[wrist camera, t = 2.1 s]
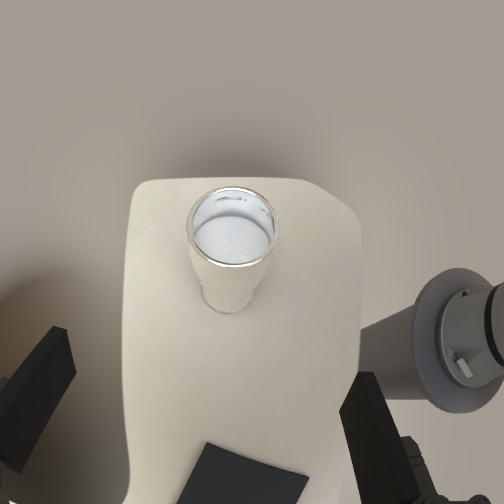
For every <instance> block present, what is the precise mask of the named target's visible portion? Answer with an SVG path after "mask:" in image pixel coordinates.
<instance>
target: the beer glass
mask: <svg viewBox="0 0 504 504" xmlns="http://www.w3.org/2000/svg"><path fill="white" fill-rule="evenodd" d="M187 234H188V251H189V257H190V261H191V264H192V267H193V270H194V272H195V274H196V275H197V277H198V279H199V280H200V281H201V291H202V295H203V298H204V300H205V301H206V303H207V304H208V305H209V306H210V307H212V308H213V309H214V310H216V311H219V312H222V313H235V312H238V311H240V310H242V309H244V308H245V307H246V306H247V305H248V304H249V303H250V302H251V300H252V298H253V296H254V292H255V287H256V286H257V285H258V284H259V283H260V281H261V280H262V279H263V278H264V277H265V275H266V273H267V271H268V269H269V267H270V265H271V263H272V260H273V257H274V253H275V249H276V244H277V240H278V236H279V220H278V216H277V214H276V211H275V210H274V208H273V206H272V205H271V204H270V203H269V201H268V200H267V199H265V198H264V197H263V196H262V195H260V194H259V193H257V192H255V191H253V190H250V189H247V188H243V187H237V186H228V187H221V188H217V189H214V190H212V191H210V192H208V193H206V194H205V195H203V196H202V197H201V198H200V199H198V200H197V202H196V203H195V204H194V205H193V207H192V209H191V210H190V213H189V216H188V219H187Z"/></svg>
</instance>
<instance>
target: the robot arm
mask: <svg viewBox="0 0 504 504" xmlns="http://www.w3.org/2000/svg"><path fill="white" fill-rule="evenodd" d="M435 342H436V350H437V355H438V359H439V362H440V365H441V367H442V369H443V371H444V373H445V374H446V376H447V377H448V378H449V379H450V380H451V381H452V382H453V383H454V384H456V385H458V386H460V387H463V388H474V387H481V386H484V385H486V384H487V383H489V382H490V381H492V380H494V379H495V378H497V377H498V376H500V375H501V374H503V373H504V282H503V283H501V284H499V285H497V286H495V287H468V288H464V289H462V290H460V291H458V292H456V293H454V294H453V295H451V296H450V297H449V298H448V299H447V300H446V302H445V303H444V305H443V306H442V308H441V310H440V313H439V316H438V319H437V324H436V332H435ZM75 375H76V369H75V365H74V361H73V357H72V353H71V349H70V344H69V339H68V335H67V330H66V329H63V328H59V327H56V326H53V327H52V328H51V329H50V330H49V331H48V332H47V334H46V335H45V336H44V337H43V339H42V340H41V341H40V342H39V343H38V344H37V345H36V347H35V348H34V349H33V351H32V352H31V353H30V354H29V355H28V357H27V358H26V359H25V360H24V361H23V363H22V364H21V365H20V367H19V368H18V369H17V370H16V372H15V373H14V374H13V375H12V377H11V378H10V379H8V378H6V377H3V378H1V379H0V460H1V461H2V462H3V463H4V465H5V466H6V467H8V468H10V469H12V470H13V471H15V472H17V473H19V474H21V472H22V470H23V468H24V466H25V464H26V462H27V460H28V458H29V456H30V454H31V452H32V450H33V448H34V446H35V444H36V443H37V441H38V439H39V437H40V435H41V433H42V432H43V430H44V428H45V426H46V424H47V423H48V421H49V419H50V417H51V415H52V414H53V412H54V410H55V409H56V407H57V405H58V403H59V402H60V400H61V398H62V396H63V395H64V393H65V391H66V390H67V388H68V386H69V384H70V383H71V381H72V380H73V378H74V377H75ZM339 413H340V417H341V421H342V425H343V428H344V432H345V436H346V440H347V444H348V448H349V452H350V456H351V460H352V464H353V468H354V473H355V477H356V481H357V485H358V490H359V494H360V498H361V503H362V504H491V503H490V501H489V499H488V498H487V497H485V496H484V495H475V496H473V497H472V498H470V499H469V500H468V501H449V500H448V499H447V498H446V497H444V496H443V495H438V493H437V492H436V490H435V487H434V485H433V482H432V479H431V477H430V474H429V471H428V469H427V467H426V464H424V462H425V461H424V459H423V457H422V456H421V452H420V450H419V447H418V444H417V443H416V442H415V441H414V440H413V439H412V438H411V437H410V436H406V437H400V435H399V433H398V430H397V428H396V426H395V423H394V420H393V418H392V415H391V413H390V411H389V408H388V406H387V403H386V401H385V399H384V396H383V394H382V391H381V389H380V387H379V384H378V382H377V380H376V377H375V375H374V373H373V372H358V373H357V375H356V377H355V379H354V382H353V384H352V386H351V388H350V390H349V392H348V394H347V396H346V398H345V400H344V402H343V404H342V406H341V408H340V410H339ZM0 504H10V503H9V499H8V496H7V493H6V489H5V486H4V482H3V478H2V474H1V470H0Z"/></svg>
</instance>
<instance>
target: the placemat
mask: <svg viewBox="0 0 504 504" xmlns="http://www.w3.org/2000/svg"><path fill="white" fill-rule="evenodd" d="M308 480H309V477H308V476H304V475H300V474H296V473H293V472H289V471H286V470H282V469H279V468H276V467H273V466H269V465H266V464H263V463H260V462H257V461H254V460H251V459H249V458H246V457H243V456H240V455H238V454H235V453H232V452H230V451H227V450H225V449H222V448H219V447H217V446H215V445H212V444H210V443H206V445H205V447H204V449H203V451H202V453H201V455H200V457H199V459H198V461H197V463H196V465H195V467H194V470H193V472H192V474H191V476H190V478H189V480H188V482H187V484H186V486H185V488H184V490H183V492H182V494H181V496H180V498H179V499H178V501H177V503H176V504H296V503H297V501H298V499H299V497H300V495H301V493H302V491H303V490H304V488H305V486H306V484H307V482H308Z"/></svg>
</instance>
